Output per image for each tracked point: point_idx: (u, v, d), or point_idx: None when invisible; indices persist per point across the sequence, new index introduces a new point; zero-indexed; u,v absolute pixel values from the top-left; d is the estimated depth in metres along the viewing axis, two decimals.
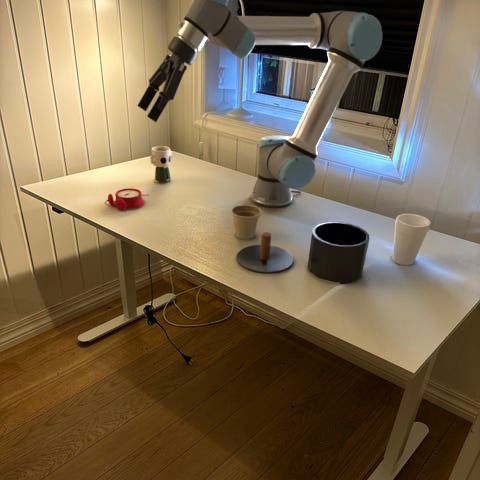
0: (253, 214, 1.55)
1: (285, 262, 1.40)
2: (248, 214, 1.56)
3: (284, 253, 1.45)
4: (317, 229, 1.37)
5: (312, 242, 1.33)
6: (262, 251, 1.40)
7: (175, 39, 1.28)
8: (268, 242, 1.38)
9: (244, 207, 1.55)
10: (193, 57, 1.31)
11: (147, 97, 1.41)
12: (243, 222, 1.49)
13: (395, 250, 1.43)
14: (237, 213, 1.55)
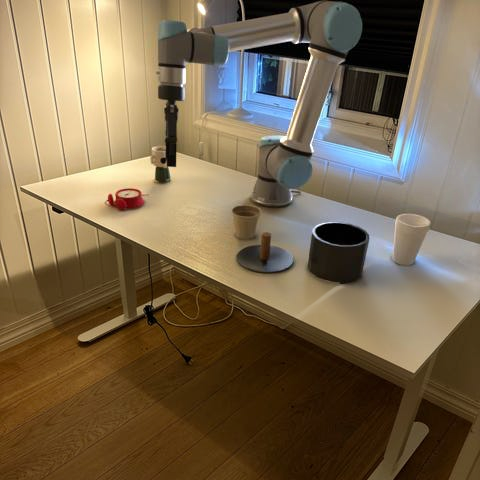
0: (253, 214, 1.55)
1: (285, 262, 1.40)
2: (248, 214, 1.56)
3: (284, 253, 1.45)
4: (317, 229, 1.37)
5: (312, 242, 1.33)
6: (262, 251, 1.40)
7: (159, 87, 1.35)
8: (268, 242, 1.38)
9: (244, 207, 1.55)
10: (181, 92, 1.35)
11: None
12: (243, 222, 1.49)
13: (395, 250, 1.43)
14: (237, 213, 1.55)
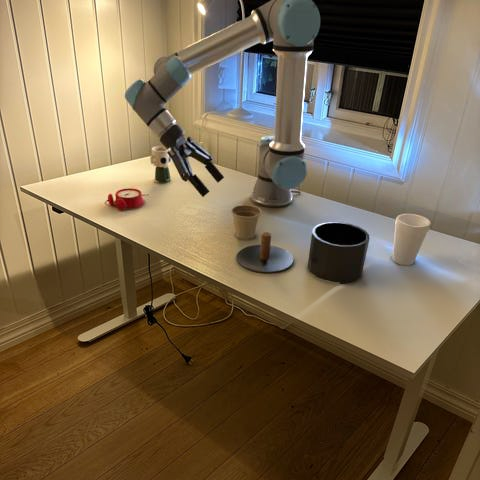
0: (253, 214, 1.55)
1: (285, 262, 1.40)
2: (248, 214, 1.56)
3: (284, 253, 1.45)
4: (317, 229, 1.37)
5: (312, 242, 1.33)
6: (262, 251, 1.40)
7: None
8: (268, 242, 1.38)
9: (244, 207, 1.55)
10: (173, 132, 1.42)
11: (212, 172, 1.54)
12: (243, 222, 1.49)
13: (395, 250, 1.43)
14: (237, 213, 1.55)
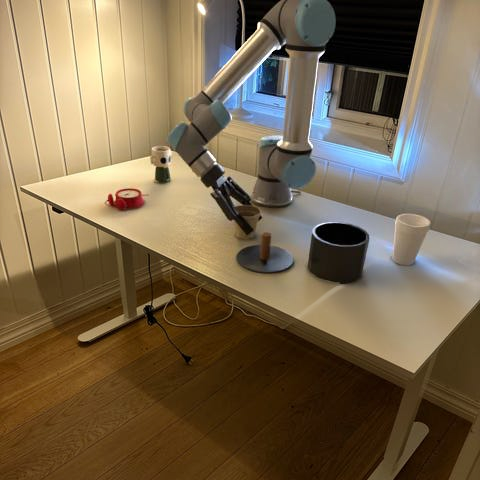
0: (253, 214, 1.55)
1: (285, 262, 1.40)
2: (248, 214, 1.56)
3: (284, 253, 1.45)
4: (317, 229, 1.37)
5: (312, 242, 1.33)
6: (262, 251, 1.40)
7: None
8: (268, 242, 1.38)
9: (244, 207, 1.55)
10: (214, 172, 1.45)
11: None
12: None
13: (395, 250, 1.43)
14: None
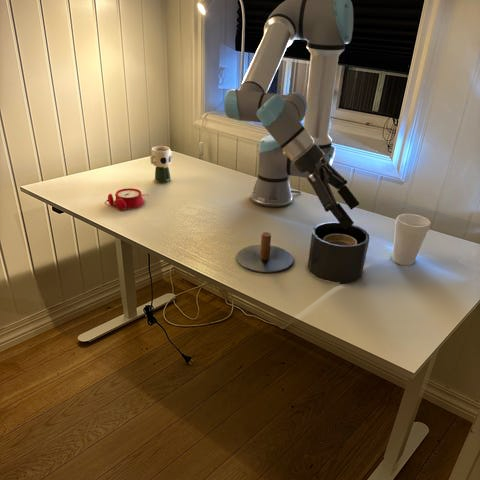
0: (345, 244, 1.39)
1: (285, 262, 1.40)
2: (339, 243, 1.39)
3: (284, 253, 1.45)
4: (317, 229, 1.37)
5: (312, 242, 1.33)
6: (262, 251, 1.40)
7: (294, 165, 1.25)
8: (268, 242, 1.38)
9: (335, 236, 1.39)
10: (313, 154, 1.21)
11: (346, 197, 1.34)
12: None
13: (395, 250, 1.43)
14: None
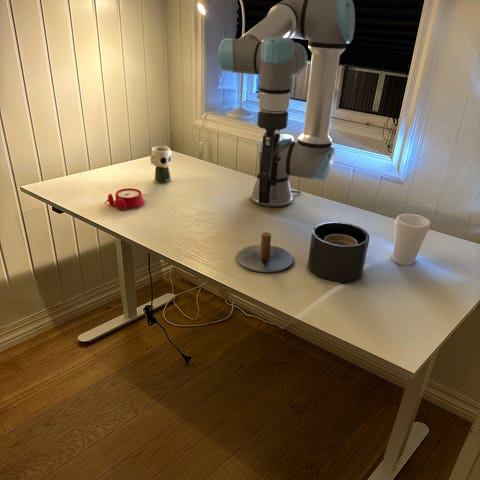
0: (345, 244, 1.39)
1: (285, 262, 1.40)
2: (340, 244, 1.39)
3: (284, 253, 1.45)
4: (317, 229, 1.37)
5: (312, 242, 1.33)
6: (262, 251, 1.40)
7: (258, 114, 1.19)
8: (268, 242, 1.38)
9: (336, 236, 1.39)
10: (281, 121, 1.17)
11: (271, 172, 1.34)
12: None
13: (395, 250, 1.43)
14: None
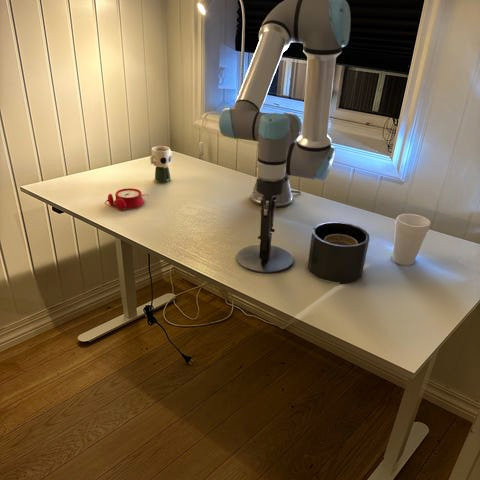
0: (345, 244, 1.39)
1: (285, 262, 1.40)
2: (340, 244, 1.39)
3: (284, 253, 1.45)
4: (317, 229, 1.37)
5: (312, 242, 1.33)
6: None
7: (256, 181, 1.28)
8: None
9: (336, 236, 1.39)
10: (278, 187, 1.27)
11: None
12: None
13: (395, 250, 1.43)
14: None
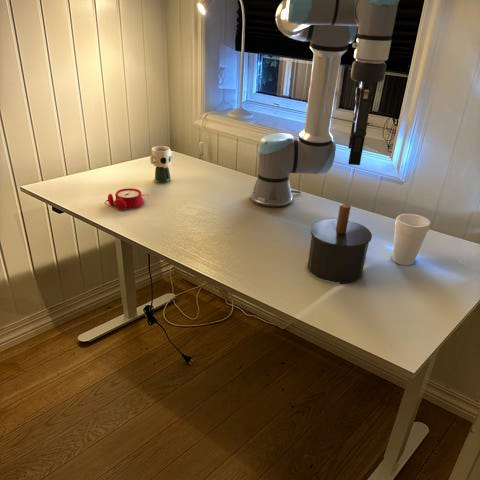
0: None
1: (364, 236, 1.31)
2: None
3: (360, 227, 1.35)
4: None
5: (312, 242, 1.33)
6: (339, 224, 1.31)
7: (353, 65, 1.09)
8: (347, 214, 1.29)
9: None
10: (380, 72, 1.07)
11: None
12: None
13: (395, 250, 1.43)
14: None
